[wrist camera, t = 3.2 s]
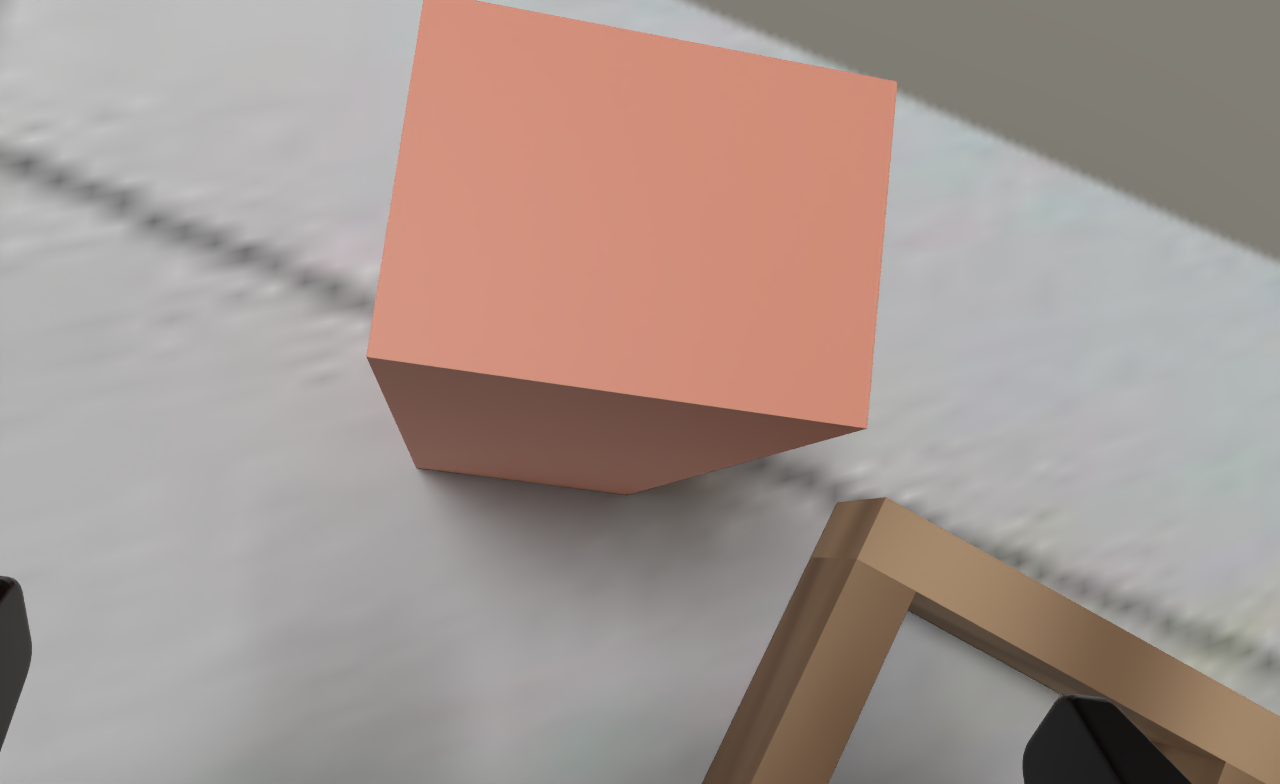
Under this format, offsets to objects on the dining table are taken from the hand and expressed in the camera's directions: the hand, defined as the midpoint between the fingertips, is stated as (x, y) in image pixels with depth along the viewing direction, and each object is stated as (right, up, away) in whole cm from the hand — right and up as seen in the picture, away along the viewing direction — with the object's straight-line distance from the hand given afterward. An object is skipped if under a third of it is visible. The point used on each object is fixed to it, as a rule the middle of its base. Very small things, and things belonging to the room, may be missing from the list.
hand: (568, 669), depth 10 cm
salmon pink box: (-1, +2, +12) cm, 12 cm away
